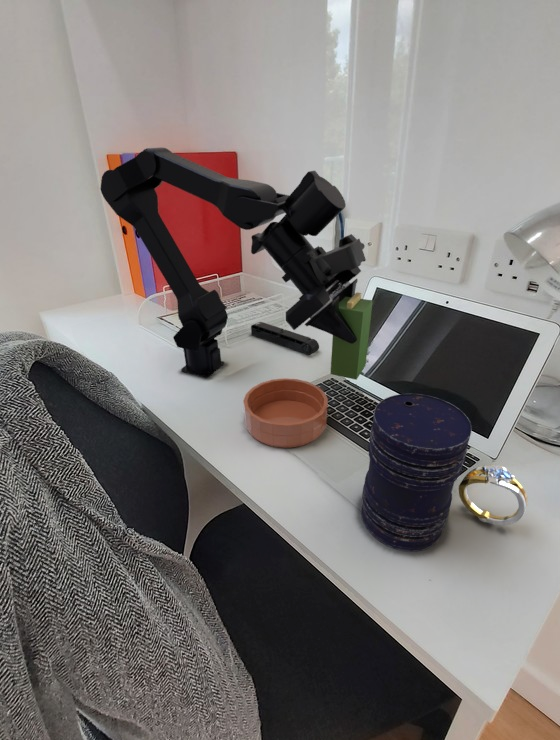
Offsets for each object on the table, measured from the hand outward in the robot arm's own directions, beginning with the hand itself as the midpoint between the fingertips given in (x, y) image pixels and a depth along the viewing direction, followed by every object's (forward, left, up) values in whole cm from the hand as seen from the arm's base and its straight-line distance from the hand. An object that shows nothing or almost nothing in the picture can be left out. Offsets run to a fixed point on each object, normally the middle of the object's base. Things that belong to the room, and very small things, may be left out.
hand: (359, 334), depth 64 cm
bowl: (-8, -9, -13) cm, 18 cm away
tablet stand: (-21, +17, -13) cm, 30 cm away
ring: (+22, -17, -13) cm, 31 cm away
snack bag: (-1, 0, -7) cm, 7 cm away
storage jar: (+13, -21, -13) cm, 28 cm away
